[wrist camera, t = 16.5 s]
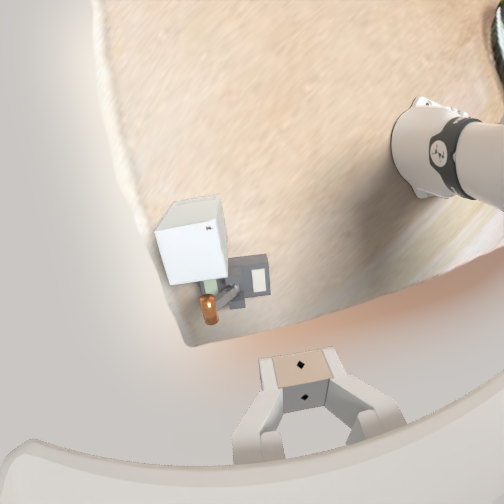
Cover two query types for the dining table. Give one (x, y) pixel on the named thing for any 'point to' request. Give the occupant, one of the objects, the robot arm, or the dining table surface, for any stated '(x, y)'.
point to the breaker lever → (217, 303)
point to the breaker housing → (242, 279)
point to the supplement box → (194, 240)
